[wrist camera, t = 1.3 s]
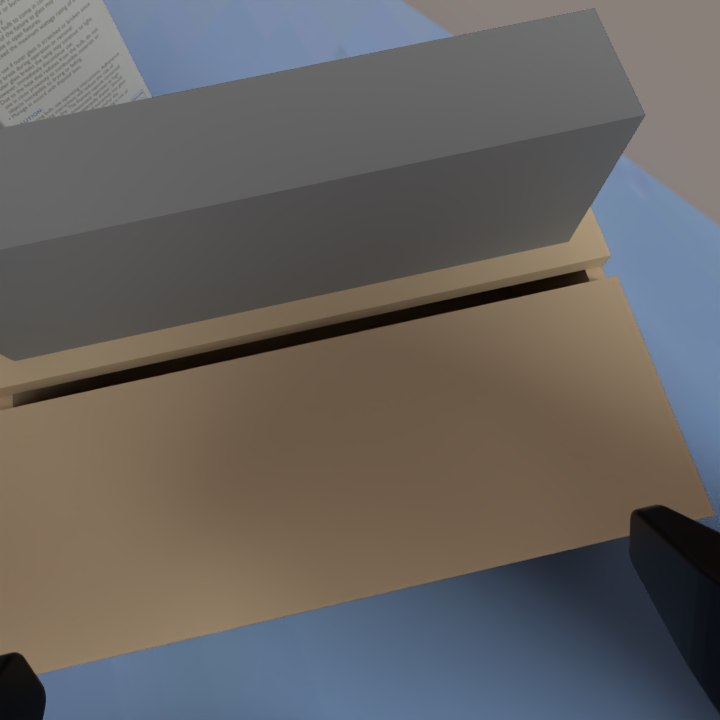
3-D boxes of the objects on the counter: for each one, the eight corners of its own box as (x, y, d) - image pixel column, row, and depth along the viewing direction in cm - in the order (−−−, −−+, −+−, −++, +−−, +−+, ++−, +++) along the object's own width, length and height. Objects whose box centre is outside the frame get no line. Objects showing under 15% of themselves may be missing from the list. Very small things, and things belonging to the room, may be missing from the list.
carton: (601, 527, 21) (715, 515, 14) (122, 639, 20) (-20, 687, 13) (492, 211, 25) (536, 78, 18) (97, 295, 25) (-20, 192, 18)
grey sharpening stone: (603, 265, 17) (706, 132, 11) (-7, 398, 16) (-201, 323, 11) (532, 90, 19) (591, -92, 13) (-9, 201, 18) (-170, 57, 13)
